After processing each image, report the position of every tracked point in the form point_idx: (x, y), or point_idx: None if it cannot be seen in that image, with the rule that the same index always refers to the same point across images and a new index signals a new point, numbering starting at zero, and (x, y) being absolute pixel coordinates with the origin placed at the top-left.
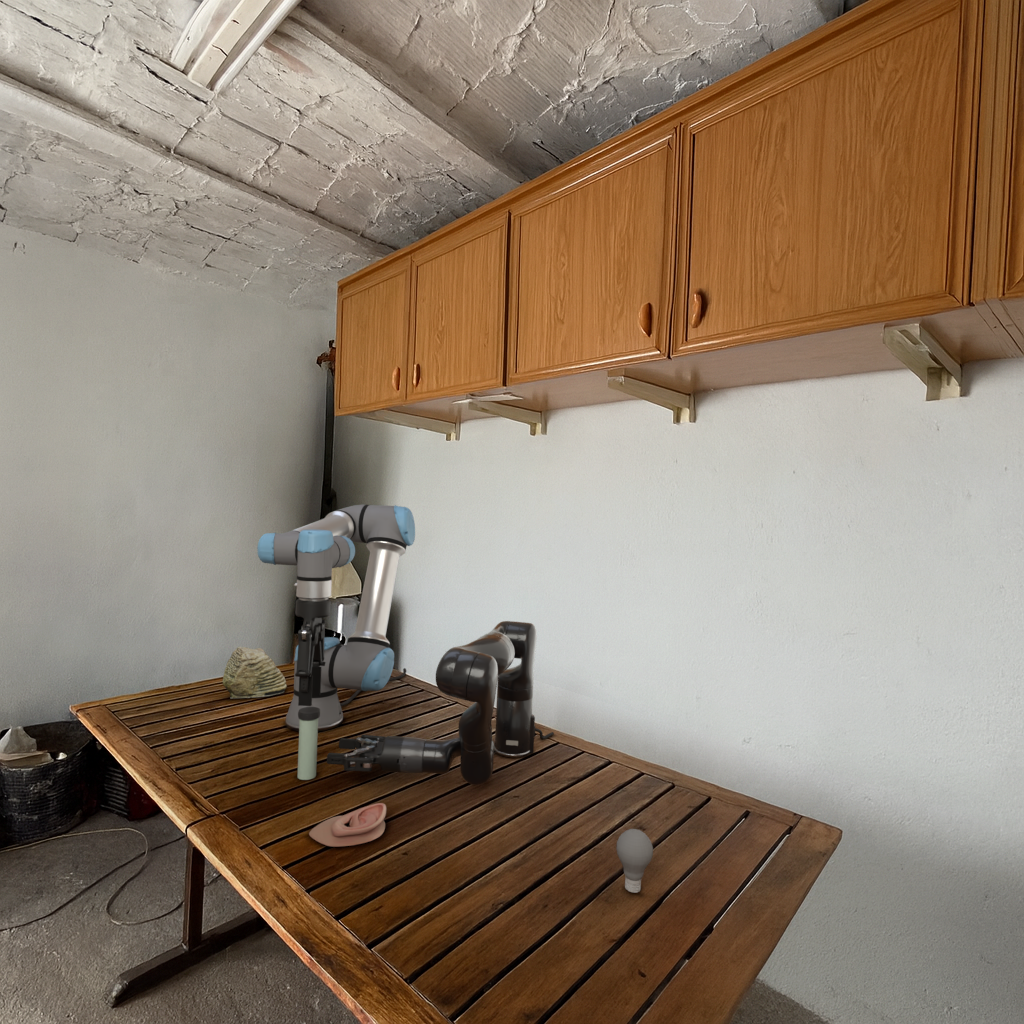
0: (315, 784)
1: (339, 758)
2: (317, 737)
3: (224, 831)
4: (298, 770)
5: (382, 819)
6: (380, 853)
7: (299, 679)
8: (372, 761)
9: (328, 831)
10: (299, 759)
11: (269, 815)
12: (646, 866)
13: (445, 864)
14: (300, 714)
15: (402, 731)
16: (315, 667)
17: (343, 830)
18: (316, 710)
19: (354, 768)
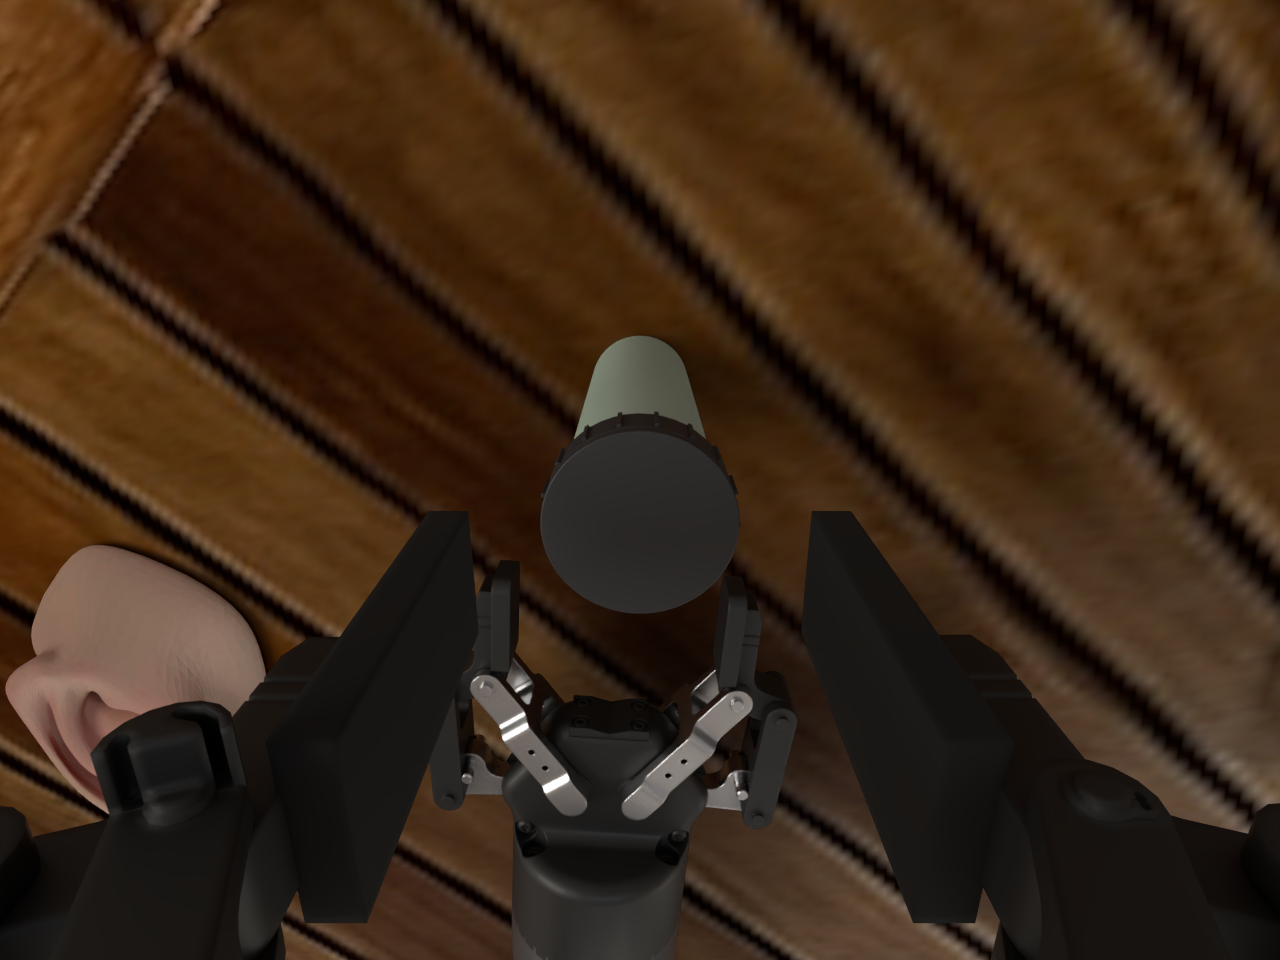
0: (551, 450)
1: (474, 645)
2: None
3: (13, 165)
4: (607, 354)
5: None
6: (64, 786)
7: (292, 704)
8: (477, 791)
9: (61, 634)
10: (599, 372)
11: (209, 328)
12: None
13: None
14: (563, 461)
15: (1210, 725)
16: (929, 846)
17: (18, 709)
18: (632, 591)
19: None
